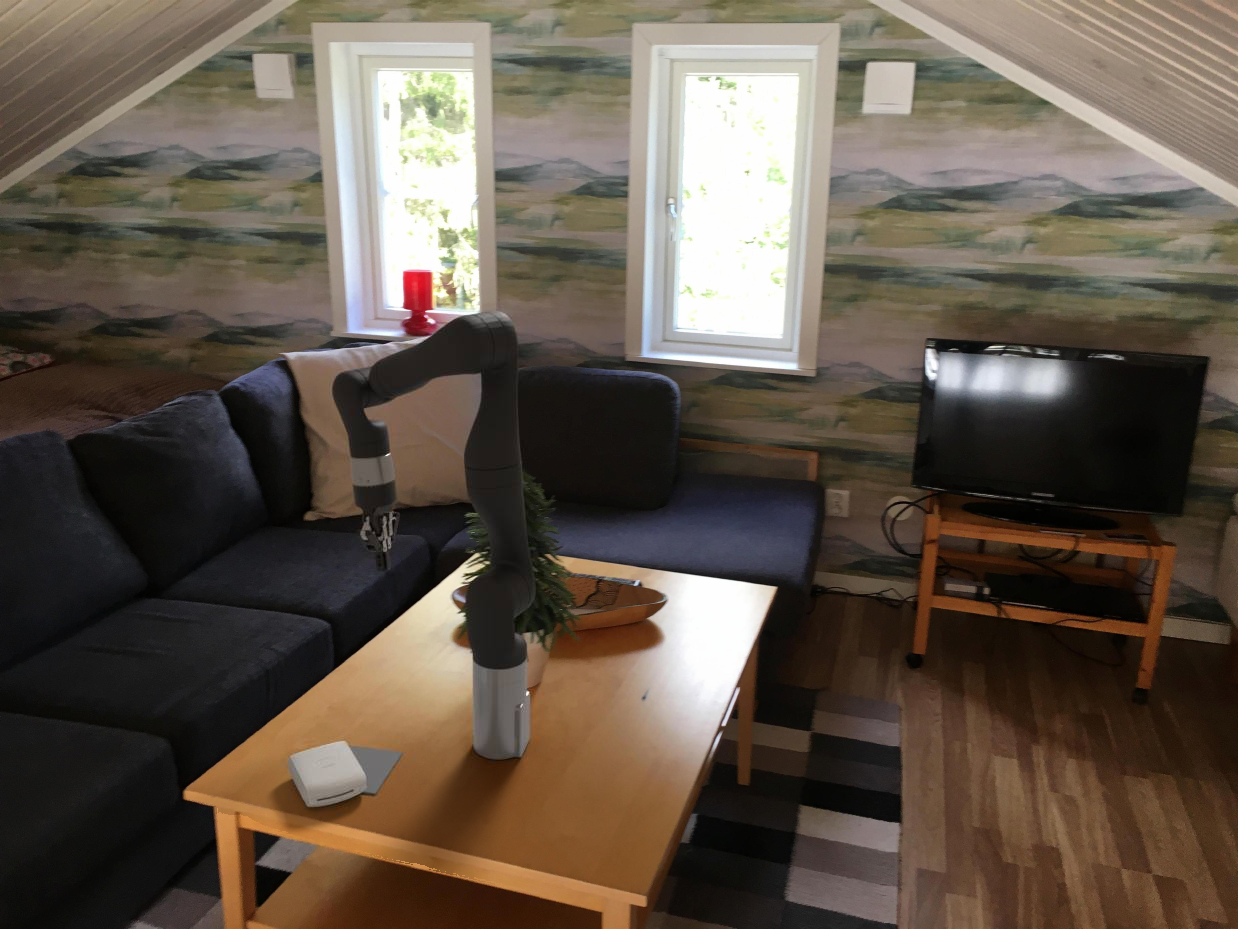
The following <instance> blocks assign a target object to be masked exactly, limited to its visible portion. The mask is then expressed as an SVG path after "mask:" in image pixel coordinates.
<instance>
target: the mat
mask: <svg viewBox="0 0 1238 929" xmlns="http://www.w3.org/2000/svg"><path fill="white" fill-rule="evenodd" d="M348 746H349V748H350V749H351V751H352V753H353V754H354V756H355V758H356V759H357V761H358V763H359V764H360V766H361V768H362V769H363V771H364V773H365V776H366V786H367V788H366V790H364V791H363V792H361V793H360V794H367V795H372V794H373V795H374V796H376V795H377V794H378V792H379V791H380V789H381V788H382V786H383V784H384V783H385V781H386V780H387V779H388V777H389V775H390V774H391V772H392V771H393V769H394V768H395V767H396V765H397V763H398V762H399V760H400V759H401V757H402V755H403V754H404V752H403V751H398V750H388V749H381V748H373V747H366V746H357V745H350V744H348ZM373 795H372V796H373Z"/></svg>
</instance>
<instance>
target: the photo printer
mask: <svg viewBox="0 0 1238 929" xmlns="http://www.w3.org/2000/svg"><path fill="white" fill-rule="evenodd" d="M348 745H349V744H348V743H347V741H345V740H341V741H335V742H332V743H328V744H323V745H320V746H316V747H312V748H308V749H306V750H302V751H299V752H296V753H293V754H292V755H290V756H289V758H288V759H287V764H286V767H287V770H288V772H289V774H290V776H291V778H292V780H293V782H294V784H295V786H296V788H297V790H298V792H299V794H300V796H301V799H302V800H303V801H304V803H305V805H306V807H307V808H319V807H325V806H329V805H334V804H336V803H340V802H343V801H347V800H349V799H351V798H353V797H355V796H358V795H360V794H362V793H361V792H363V791H364V790H366V788H367V786H366V776H365V773H364V771H363V769H362V768H361V766H360V764H359V763H358V761H357V759H356V758H355V756H354V754H353V753H352V751H351V749H350V748H349V746H348Z"/></svg>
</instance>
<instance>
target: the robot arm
mask: <svg viewBox="0 0 1238 929" xmlns="http://www.w3.org/2000/svg"><path fill="white" fill-rule="evenodd" d="M479 374H480V381H481V382H480V384H481V385H480V386H481V394H480V401H479V406H478V409H477V413H476V416H475V418H474V421H473V424H472V426H471V428H470V431H469V434H468V438H467V440H466V443H465V448H464V451H463V464H464V467H463V468H464V474H465V475H464V476H465V486H466V492H467V497H468V499H469V501H470V503H471V505H472V507H473V509H474V510H475V513H476V514H477V515H478V517H479V518H480V520H481V522H482V523H483V525H484V527H485V530H486V533H487V535H488V541H489V553H490V563H489V564H490V566H489V569H486V570H485V571H484V572H482V573H481V574H479V575H478V576H476V577H475V578H473V579H472V580H471V581H470V582H469V584H468V585H467V589H466V592H465V619H466V620H465V622H466V634H467V641H468V644H469V647H470V649H471V651H472V652H471V653H472V721H473V722H472V723H473V724H472V727H473V730H472V732H473V734H472V740H473V750H474V752H476V753H477V754H478V755H479V756H481V757H483V758H486V759H490V760H506V759H507V760H508V759H511V758H522V757H523V755H524V752H525V750H526V748H527V745H528V744H529V742H530V738H531V736H530V732H531V725H530V724H531V707H530V706H531V691H528V643H527V641H526V639H525V637H523V636H522V635H521V634H519V633H516V630H515V626H516V625H515V623H514V619H515V618H516V617H517V616H519V615H520V614H521V613H523V612H524V611H525V612H526V610H528V608H530V607H531V605H532V604H533V602H534V599H535V597H536V578H535V573H534V568H533V562H532V557H531V552H530V547H529V539H528V533H527V520H526V511H525V510H526V509H525V507H526V506H525V499H524V498H525V497H524V479H523V466H522V464H523V463H522V452H521V445H520V444H521V443H520V430H519V428H520V427H519V412H518V411H519V409H518V408H519V407H518V403H519V402H518V389H519V388H518V386H519V385H518V384H519V381H518V380H519V341H518V335H517V331H516V328H515V325H514V322H512V320H511V318H510V317H509V316H508V315H507V314H506V313H504V312H502V311H500V310H489V311H483V312H482V311H481V312H479V313H478V312H477V313H470V314H465V315H460V316H458V317H455V318H454V319H452V320H450V321H449V322H447V323H446V324H445V325H443V326H442V327H441V328H439V329H437V330H436V331H435V332H434V333H433V334H431V335H430V336H429V337H427V338H425V339H424V340H423V341H420V342H419V343H417V344H415V345H412V346H411V347H410V346H409V347H407V348H405V349H401V350H400V351H397V352H395V353H392V354H390V355H387V356H385V357H383V358H380V359H379V360H377V361H376V362H374V364H373V365H371V366H367V367H361V368H356V369H351V370H344V371H342V372H340V373H338V374H337V375H336V377H335V378H334V380H333V382H332V387H331V392H332V394H331V396H332V398H333V402H334V404H335V407H336V409H337V411H338V414H339V416H340V418H341V421H342V423H343V425H344V428H345V431H346V433H347V436H348V437H347V438H348V447H349V456H350V475H351V482H352V483H351V484H352V490H353V499H354V504H355V506H356V507H357V508H359V509H360V510H362V518H361V519H362V520H361V521H362V523H363V526H362V528H361V529H357V530H356V537H357V539H359V541H360V542H361V543H362V545H363V547H364V548H365V550H366V551H367V552H370V553H371V552H373V553H374V556H375V566H376V570H377V571H378V572H387V571H389V570H390V569H391V568H392V561H391V553H390V549H391V548H392V543H395V541H396V536H397V532H398V526H399V522H400V517H401V515H400V514H401V513H400V512H399V511H394V510H393V505H394V504H396V502H397V500H398V493H397V486H396V478H395V468H394V462H393V458H392V454H391V447H390V446H391V445H390V444H391V443H390V438H389V437H390V435H389V430H388V426H387V425H386V422H384V421H383V420H379V419H369V418H368V416H367V414H366V412H365V409H369V408H373V407H379V406H381V405H384V404H387V403H389V402H392V401H394V400H395V399H396V398H398V397H401V396H404V395H407V394H409V393H413V392H414V391H417V390H419V389H421V388H423V387H424V386H426V385H427V384H429V383H430V382H431V381H432V380H435V379H438V378H442V377H450V376H451V377H452V376H460V375H479Z"/></svg>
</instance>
